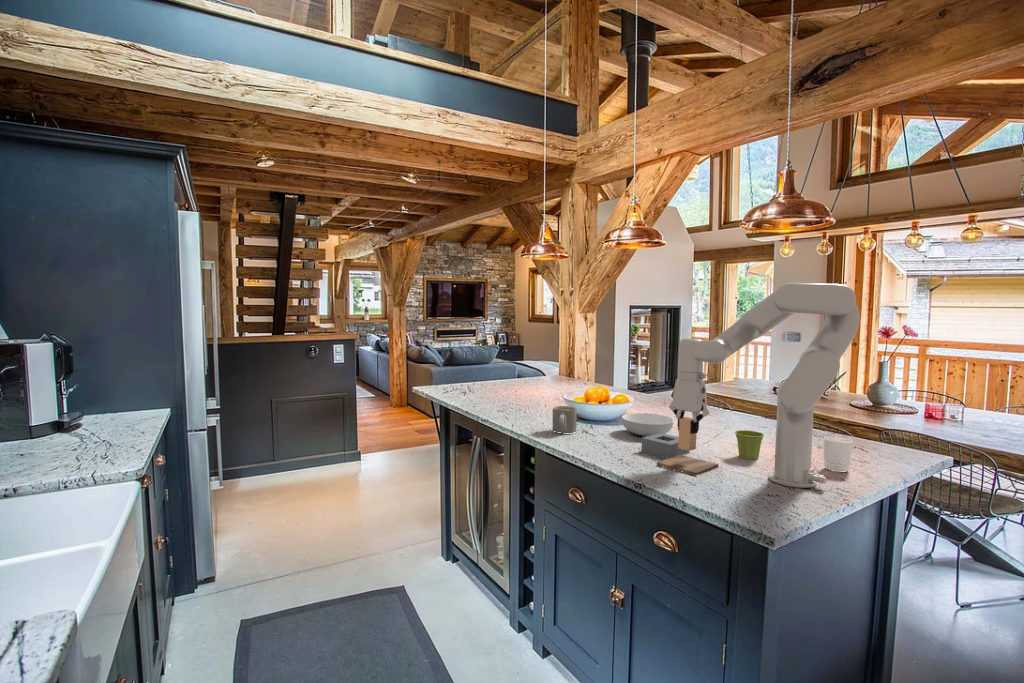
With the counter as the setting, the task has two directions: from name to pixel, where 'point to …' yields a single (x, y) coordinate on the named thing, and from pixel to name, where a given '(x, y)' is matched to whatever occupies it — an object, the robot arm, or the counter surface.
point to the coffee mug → (564, 419)
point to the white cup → (837, 453)
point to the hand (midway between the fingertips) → (687, 431)
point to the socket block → (662, 445)
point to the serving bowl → (647, 423)
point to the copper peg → (686, 434)
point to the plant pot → (749, 443)
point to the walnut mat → (688, 464)
